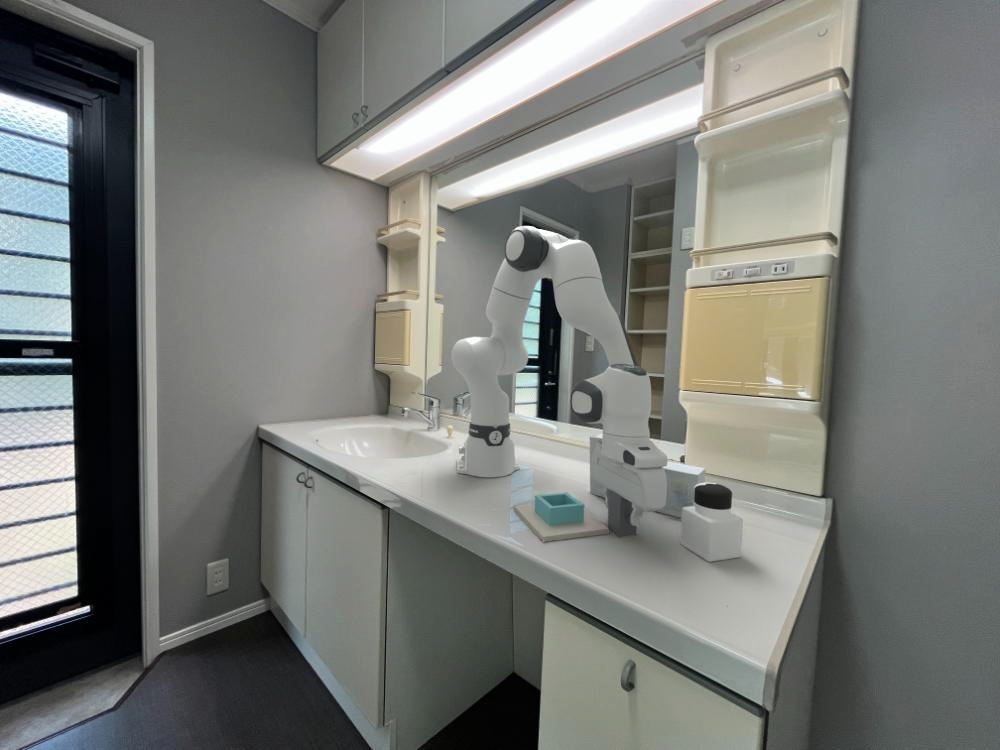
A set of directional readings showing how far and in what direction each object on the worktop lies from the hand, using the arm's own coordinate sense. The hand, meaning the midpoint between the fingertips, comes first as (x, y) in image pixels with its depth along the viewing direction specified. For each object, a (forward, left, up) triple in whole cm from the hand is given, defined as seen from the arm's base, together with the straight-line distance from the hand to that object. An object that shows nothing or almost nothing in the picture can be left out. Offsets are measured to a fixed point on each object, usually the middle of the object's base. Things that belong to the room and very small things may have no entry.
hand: (622, 516), depth 82 cm
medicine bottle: (+11, +11, -3) cm, 16 cm away
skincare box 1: (-19, +9, -3) cm, 21 cm away
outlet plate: (-8, -10, -3) cm, 13 cm away
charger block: (0, 0, -3) cm, 3 cm away
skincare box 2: (-6, +18, -3) cm, 19 cm away
